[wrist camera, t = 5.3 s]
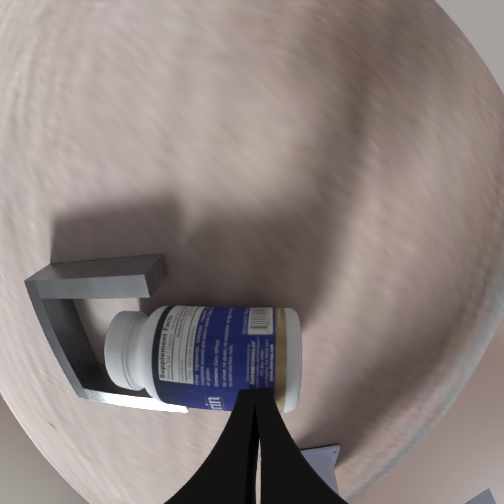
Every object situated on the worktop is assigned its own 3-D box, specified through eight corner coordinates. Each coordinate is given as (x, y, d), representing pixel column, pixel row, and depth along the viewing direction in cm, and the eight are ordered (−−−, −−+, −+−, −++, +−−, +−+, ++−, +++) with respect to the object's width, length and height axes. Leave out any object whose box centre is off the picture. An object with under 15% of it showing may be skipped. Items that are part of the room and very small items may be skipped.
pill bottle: (292, 408, 15) (140, 395, 15) (292, 321, 17) (148, 316, 18) (302, 418, 10) (91, 392, 10) (302, 291, 12) (107, 286, 13)
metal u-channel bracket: (194, 381, 18) (187, 411, 15) (92, 373, 19) (78, 396, 16) (162, 253, 15) (144, 274, 12) (49, 264, 15) (24, 280, 13)
